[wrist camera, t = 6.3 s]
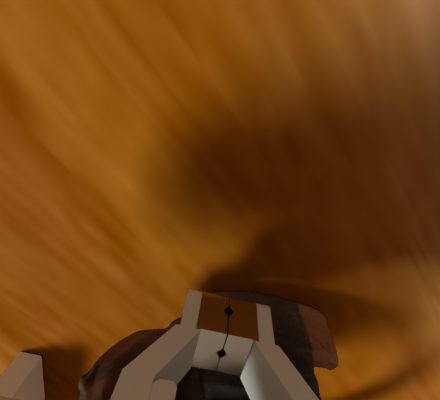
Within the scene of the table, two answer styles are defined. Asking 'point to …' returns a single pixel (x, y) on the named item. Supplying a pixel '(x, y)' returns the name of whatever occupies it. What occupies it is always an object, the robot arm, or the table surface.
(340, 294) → the table surface
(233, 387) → the pottery mug
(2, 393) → the display stand
